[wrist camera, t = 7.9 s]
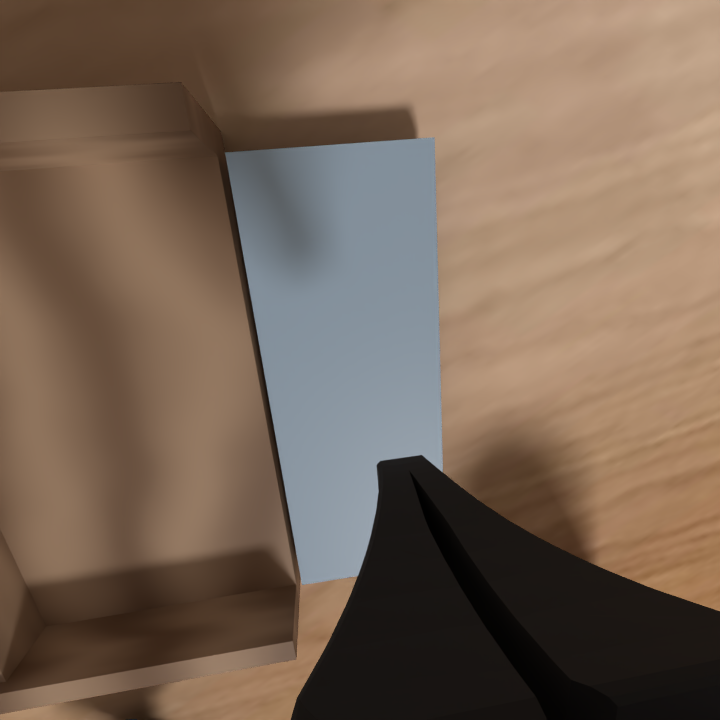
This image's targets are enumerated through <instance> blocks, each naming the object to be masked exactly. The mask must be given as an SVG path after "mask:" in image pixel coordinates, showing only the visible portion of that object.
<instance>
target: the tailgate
mask: <svg viewBox="0 0 720 720" xmlns="http://www.w3.org/2000/svg"><path fill="white" fill-rule="evenodd" d="M225 154H226V160H227V166H228V171H229V177H230V182H231V188H232V194H233V199H234V205H235V211H236V216H237V222H238V227H239V233H240V239H241V244H242V250H243V256H244V261H245V267H246V272H247V278H248V284H249V289H250V295H251V301H252V306H253V312H254V317H255V323H256V329H257V334H258V340H259V346H260V351H261V357H262V362H263V368H264V374H265V379H266V385H267V391H268V396H269V402H270V407H271V413H272V419H273V424H274V430H275V436H276V441H277V447H278V452H279V458H280V464H281V469H282V475H283V480H284V486H285V492H286V497H287V503H288V509H289V514H290V520H291V525H292V531H293V537H294V542H295V548H296V554H297V559H298V565H299V570H300V576H301V582H302V585H305V584H311V583H317V582H323V581H329V580H335V579H342V578H348V577H354V576H358V574H359V572H360V569H361V566H362V563H363V560H364V557H365V554H366V551H367V547H368V544H369V540H370V536H371V532H372V528H373V523H374V518H375V514H376V508H377V500H378V492H379V489H378V477H377V466H376V465H377V464H378V463H379V462H380V461H383V460H390V459H397V458H404V457H411V456H418V455H422V456H424V457H425V458H426V459H427V460H428V461H430V462H431V463H432V464H433V465H434V466H436V467H437V468H438V469H439V470H440V471H442V472H443V459H442V419H441V379H440V339H439V299H438V260H437V220H436V180H435V140H434V138H420V139H406V140H392V141H378V142H364V143H350V144H336V145H322V146H308V147H294V148H280V149H266V150H253V151H239V152H225Z"/></svg>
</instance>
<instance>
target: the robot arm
mask: <svg viewBox="0 0 720 720" xmlns="http://www.w3.org/2000/svg"><path fill="white" fill-rule="evenodd" d="M376 466H377V477H378V489H379V492H378V500H377V508H376V514H375V518H374V523H373V528H372V532H371V536H370V540H369V544H368V547H367V551H366V554H365V557H364V560H363V563H362V566H361V569H360V572H359V574H358V577H357V580H356V582H355V585H354V588H353V590H352V593H351V595H350V597H349V600H348V602H347V604H346V607H345V609H344V611H343V613H342V615H341V617H340V619H339V621H338V623H337V626H336V628H335V630H334V632H333V634H332V636H331V638H330V640H329V642H328V644H327V646H326V648H325V650H324V652H323V653H322V655H321V657H320V659H319V660H318V662H317V664H316V666H315V667H314V669H313V671H312V673H311V674H310V676H309V678H308V680H307V682H306V683H305V685H304V687H303V689H302V690H301V692H300V694H299V696H298V697H297V700H296V703H295V707H294V710H293V714H292V717H291V720H720V611H717V610H714V609H711V608H708V607H705V606H702V605H699V604H696V603H693V602H690V601H687V600H684V599H682V598H679V597H676V596H673V595H670V594H667V593H664V592H661V591H658V590H655V589H653V588H650V587H647V586H645V585H642V584H640V583H637V582H635V581H632V580H630V579H627V578H625V577H622V576H620V575H617V574H615V573H612V572H610V571H607V570H605V569H603V568H600V567H598V566H596V565H594V564H591V563H589V562H587V561H585V560H583V559H580V558H578V557H576V556H574V555H572V554H570V553H568V552H566V551H564V550H562V549H560V548H558V547H555V546H554V545H552V544H550V543H548V542H546V541H544V540H542V539H540V538H538V537H536V536H535V535H533V534H531V533H529V532H528V531H526V530H524V529H522V528H521V527H519V526H517V525H515V524H514V523H512V522H510V521H509V520H507V519H506V518H504V517H502V516H501V515H499V514H498V513H496V512H495V511H493V510H492V509H490V508H489V507H487V506H486V505H484V504H483V503H482V502H480V501H479V500H477V499H476V498H475V497H473V496H472V495H471V494H469V493H468V492H467V491H465V490H464V489H463V488H461V487H460V486H459V485H457V484H456V483H455V482H454V481H452V480H451V479H450V478H449V477H448V476H446V475H445V474H444V473H443V472H442V471H440V470H439V469H438V468H437V467H436V466H434V465H433V464H432V463H431V462H430V461H428V460H427V459H426V458H425V457H424V456H422V455H418V456H411V457H404V458H397V459H390V460H383V461H380V462H379V463H378V464H377V465H376Z"/></svg>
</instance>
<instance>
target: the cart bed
mask: <svg viewBox="0 0 720 720" xmlns="http://www.w3.org/2000/svg"><path fill="white" fill-rule="evenodd" d="M300 579H301V578H300V572H299V566H298V561H297V555H296V550H295V544H294V538H293V533H292V527H291V521H290V516H289V510H288V505H287V499H286V493H285V488H284V482H283V477H282V471H281V465H280V460H279V454H278V448H277V443H276V437H275V432H274V426H273V420H272V415H271V409H270V404H269V398H268V392H267V387H266V381H265V376H264V370H263V364H262V359H261V353H260V347H259V342H258V336H257V331H256V325H255V319H254V314H253V308H252V303H251V297H250V291H249V286H248V280H247V274H246V269H245V263H244V258H243V252H242V246H241V241H240V235H239V230H238V224H237V218H236V213H235V207H234V201H233V196H232V190H231V185H230V179H229V173H228V168H227V162H226V157H225V151H224V145H223V140H222V134H221V131H220V130H219V129H218V128H217V126H216V125H215V124H214V123H213V121H212V120H211V119H210V118H209V116H208V115H207V114H206V113H205V111H204V110H203V109H202V108H201V106H200V105H199V104H198V103H197V101H196V100H195V99H194V98H193V96H192V95H191V94H190V93H189V91H188V90H187V89H186V88H185V86H184V85H183V84H182V83H181V82H176V83H158V84H139V85H121V86H102V87H84V88H65V89H46V90H28V91H9V92H0V714H4V713H9V712H15V711H20V710H25V709H31V708H36V707H42V706H47V705H52V704H58V703H63V702H69V701H74V700H79V699H85V698H90V697H96V696H101V695H106V694H112V693H117V692H123V691H128V690H134V689H139V688H144V687H150V686H155V685H161V684H166V683H171V682H177V681H182V680H188V679H193V678H198V677H204V676H209V675H215V674H220V673H225V672H231V671H236V670H242V669H247V668H252V667H258V666H263V665H269V664H274V663H279V662H285V661H290V660H296V657H297V637H298V618H299V598H300Z"/></svg>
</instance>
